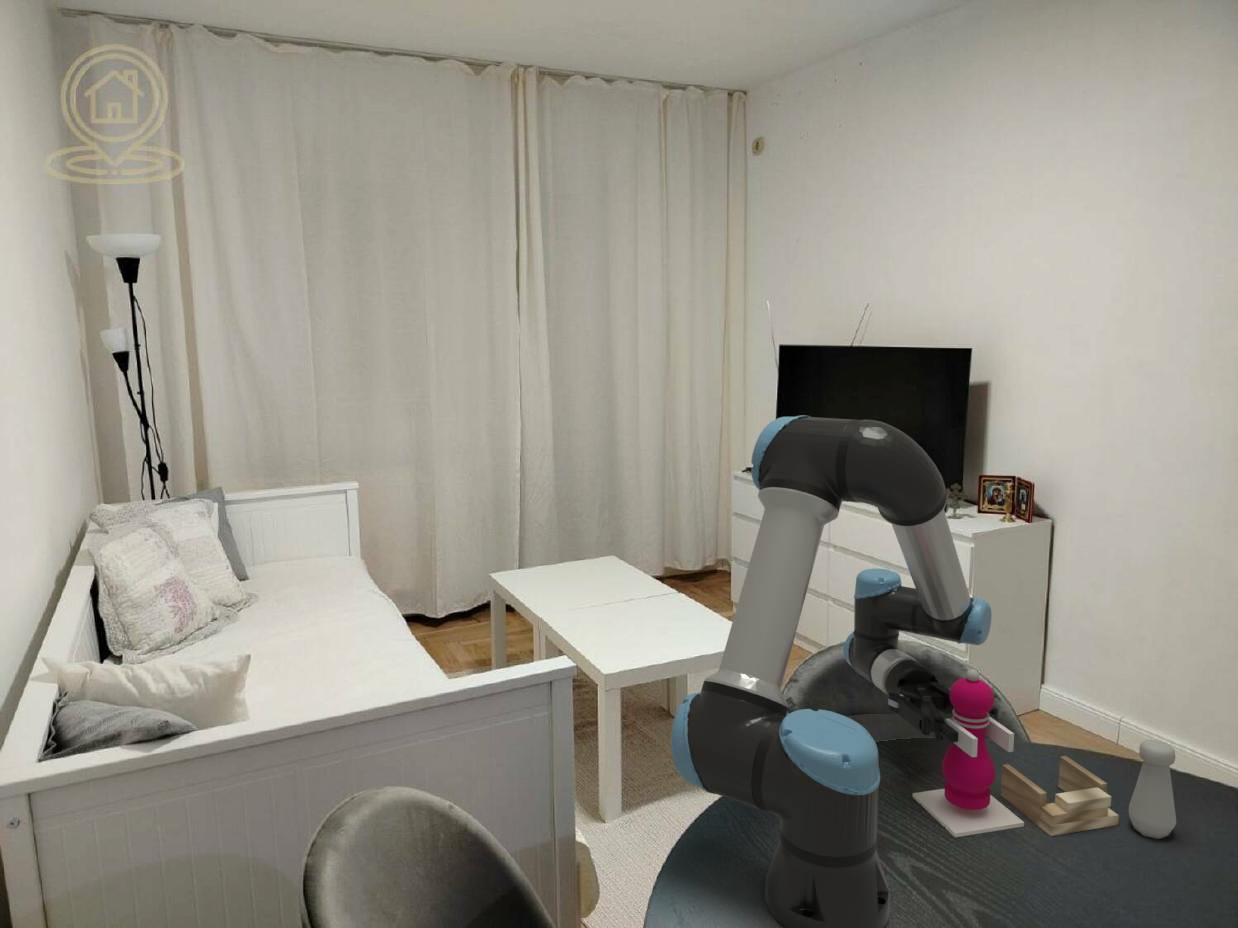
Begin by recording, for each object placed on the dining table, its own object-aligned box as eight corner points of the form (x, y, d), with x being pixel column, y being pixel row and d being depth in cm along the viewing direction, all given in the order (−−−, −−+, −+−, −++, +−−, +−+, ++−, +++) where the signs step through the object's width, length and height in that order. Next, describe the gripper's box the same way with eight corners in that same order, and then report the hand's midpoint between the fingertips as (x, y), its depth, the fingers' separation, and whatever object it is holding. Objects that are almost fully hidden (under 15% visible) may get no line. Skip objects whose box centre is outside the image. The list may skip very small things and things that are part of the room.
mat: (954, 837, 124) (955, 833, 123) (912, 796, 134) (912, 793, 134) (1024, 826, 126) (1024, 822, 126) (977, 787, 137) (977, 783, 136)
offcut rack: (1050, 835, 123) (1052, 802, 123) (1000, 795, 134) (1002, 764, 133) (1118, 824, 126) (1120, 792, 125) (1063, 785, 136) (1065, 755, 136)
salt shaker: (1139, 814, 128) (1146, 730, 126) (1182, 832, 124) (1190, 745, 122) (1119, 828, 125) (1125, 742, 123) (1162, 847, 120) (1170, 758, 118)
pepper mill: (984, 786, 133) (991, 660, 130) (1000, 813, 126) (1007, 680, 123) (935, 785, 134) (940, 659, 130) (948, 811, 127) (953, 679, 123)
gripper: (952, 695, 148) (1048, 762, 125) (853, 707, 144) (933, 778, 122) (954, 652, 147) (1051, 712, 124) (854, 664, 143) (935, 727, 120)
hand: (993, 745), depth 123 cm, fingers closed on pepper mill, 5 cm apart
